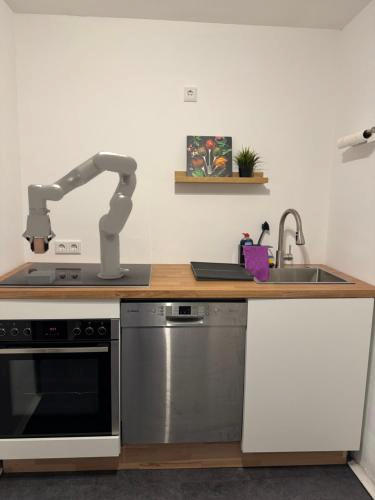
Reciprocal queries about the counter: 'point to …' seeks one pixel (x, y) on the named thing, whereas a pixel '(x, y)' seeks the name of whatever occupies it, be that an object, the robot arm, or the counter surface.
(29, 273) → the walnut cube
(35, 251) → the terracotta cylinder
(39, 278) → the block
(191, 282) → the counter surface
